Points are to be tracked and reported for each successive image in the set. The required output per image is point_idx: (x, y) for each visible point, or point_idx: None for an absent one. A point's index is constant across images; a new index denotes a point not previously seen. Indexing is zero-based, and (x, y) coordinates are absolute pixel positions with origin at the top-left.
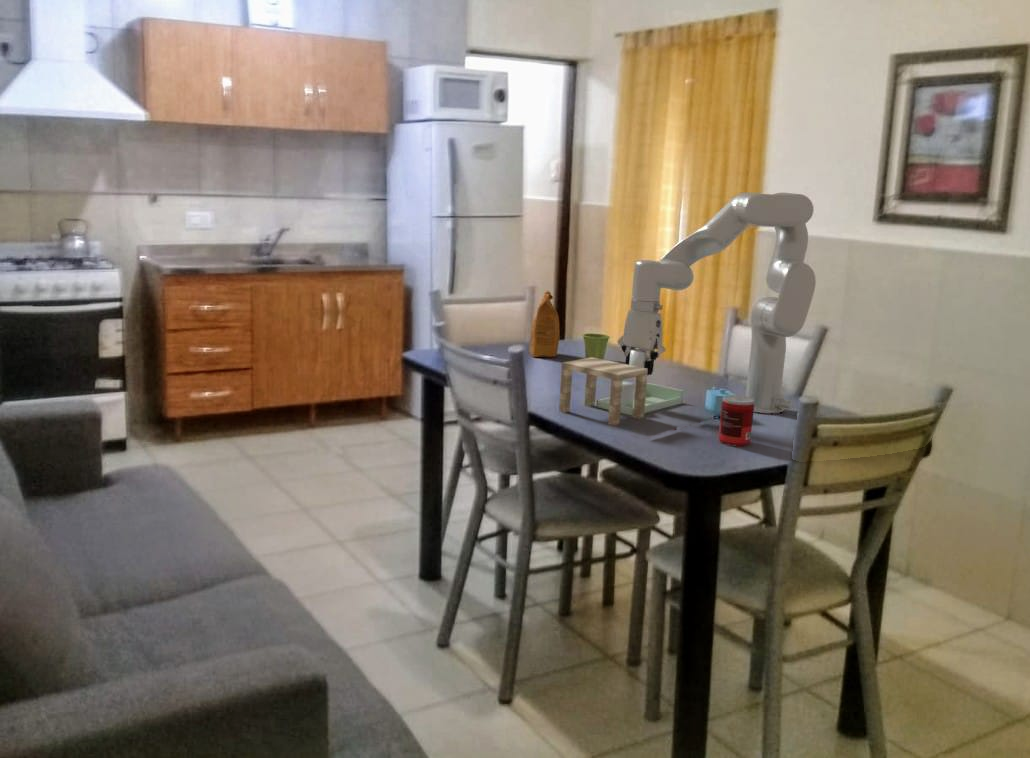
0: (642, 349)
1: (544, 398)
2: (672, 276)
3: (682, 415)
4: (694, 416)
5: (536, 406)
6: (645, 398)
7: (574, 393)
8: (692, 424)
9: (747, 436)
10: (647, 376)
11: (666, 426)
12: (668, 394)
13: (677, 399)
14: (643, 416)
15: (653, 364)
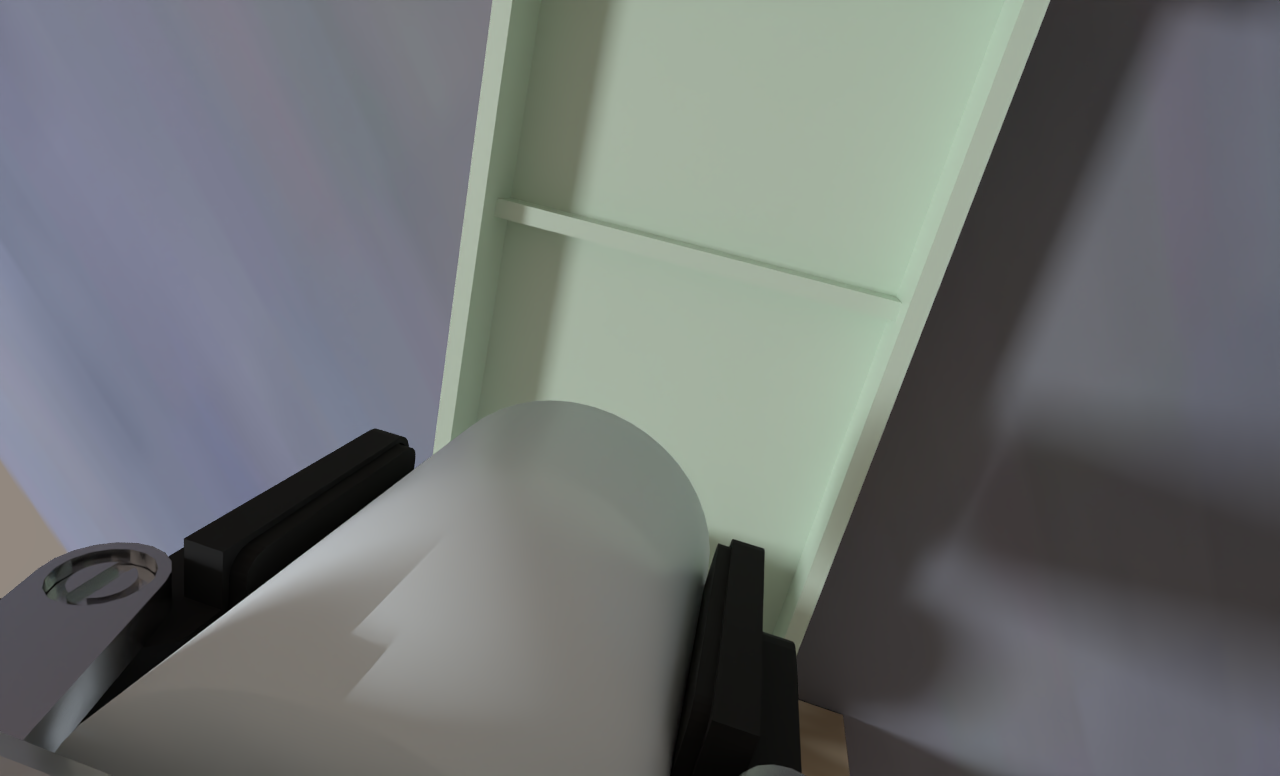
0: (249, 773)
1: (67, 479)
2: None
3: (1120, 362)
4: (1259, 326)
5: None
6: (613, 35)
7: (70, 192)
8: (1269, 626)
9: None
10: (708, 562)
11: (1047, 772)
12: None
13: (1029, 42)
14: (844, 748)
15: (798, 744)
